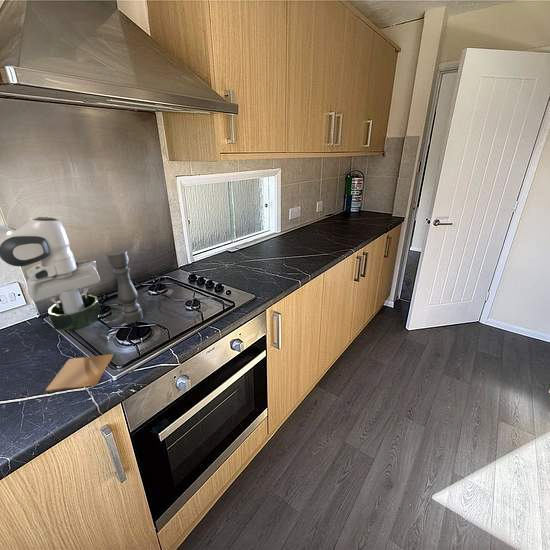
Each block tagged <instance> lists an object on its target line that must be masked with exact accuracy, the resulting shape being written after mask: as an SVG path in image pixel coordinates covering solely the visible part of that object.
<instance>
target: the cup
mask: <svg viewBox="0 0 550 550" xmlns="http://www.w3.org/2000/svg"><path fill="white" fill-rule="evenodd" d="M81 294H82V293H81V290H80V289H78V288H76V289H74V290H72V291H69V292H63V293H61V295H58V299H59V301H60V302H61V303H62V305H63V306H62V308H63V311H64V313H65V314H70V313H74V312H77V311H80V310H83V309H85V306H84V303H83V300H82V297H81Z"/></svg>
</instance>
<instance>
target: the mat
mask: <svg viewBox="0 0 550 550" xmlns="http://www.w3.org/2000/svg"><path fill="white" fill-rule="evenodd" d="M113 357H114V354H113V353H111V354H102V355H93V356H92V355H91V356H84V357H73V358H69V359H67V361H66V362H65V363H64V365H63V366H62V367H61V369H60V370H59V371H58V373H57V374H56V375H55V377H54V378H53V379H52V381H51V382H50V383H49V385H48V386H47V387H46V388H45V392H54V391H62V390H69V389H78V388H87V387H93V386H95V387H96V386H98V384H99V383H100V381H101V379H102V377H103V375H104V373H106V372H105V371H106V370H107V368H108V366H109V365H108V364H111V361H112V359H113ZM106 367H107V368H106Z"/></svg>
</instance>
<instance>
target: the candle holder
mask: <svg viewBox="0 0 550 550" xmlns="http://www.w3.org/2000/svg"><path fill="white" fill-rule="evenodd" d="M106 256H107V260H108V264H109V265H110V266H111V267H112V268H113V270H112V274H113V275H114V276H115V277H116V281H117V299H118V301H119V302H120V303H121V304H122V305H123V306H122V308H121V311H122V313H121V314H122V319H123V322H124V323H125V324H127V325H130V324H129V323H134V324H136V323H135V322H136V321H138V322H137V323H140V322H141V321H143V319H144V314H143V309H142V307H141V306H140V304H139V303H138V301H137V299H138V296H139V294H138V291H137V289H136V288H135V286H134V284H133V282H132V280H131V276H130V271H131V268H130V267H128V264H129V256H128V251H127V249H115V250H110V251H109V252H107V253H106Z"/></svg>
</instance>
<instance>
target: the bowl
mask: <svg viewBox="0 0 550 550" xmlns="http://www.w3.org/2000/svg"><path fill="white" fill-rule="evenodd" d="M86 295H87V299H84V300H83V303H84V306H85V309H83V310H80V311H77V312H74V313H70V314H65V313H64V311H63V308H62V307H59V308H57V306H56V304H55V303H53V304H52V305H51V306H50V307H49V308H48V309H47V310H48V316H49V318H50V320H51V323H52V326H53V329H55V330H57V329H60V330H69V331H76V330H79V329H82V328H85V327H88V326H90V325H92V324H93V323H96V322H97V321H99V320H98V315H99V313H100V311H102V308H101V305H100V301H99V299H98V297H97V296H96V295H93V294H86ZM60 330H59V331H60Z"/></svg>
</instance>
